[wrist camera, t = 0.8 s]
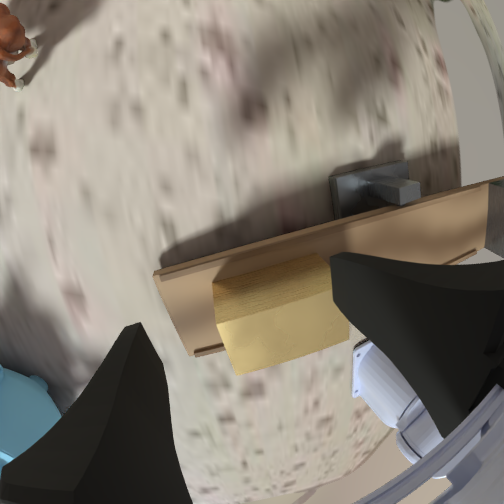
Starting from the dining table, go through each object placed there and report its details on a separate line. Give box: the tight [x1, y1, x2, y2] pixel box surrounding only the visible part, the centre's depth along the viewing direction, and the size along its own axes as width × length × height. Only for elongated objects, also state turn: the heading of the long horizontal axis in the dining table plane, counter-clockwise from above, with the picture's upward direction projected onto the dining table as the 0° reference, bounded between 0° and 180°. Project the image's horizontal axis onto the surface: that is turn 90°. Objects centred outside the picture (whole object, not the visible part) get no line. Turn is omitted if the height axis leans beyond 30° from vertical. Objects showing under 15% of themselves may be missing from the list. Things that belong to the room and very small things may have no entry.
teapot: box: [0, 364, 62, 476], centre depth 12 cm, size 13×14×11 cm
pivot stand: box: [329, 161, 421, 220], centre depth 21 cm, size 12×8×5 cm, turn 13°
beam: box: [153, 176, 504, 357], centre depth 17 cm, size 8×36×6 cm, turn 103°
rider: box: [212, 253, 349, 376], centre depth 17 cm, size 4×7×4 cm, turn 103°
